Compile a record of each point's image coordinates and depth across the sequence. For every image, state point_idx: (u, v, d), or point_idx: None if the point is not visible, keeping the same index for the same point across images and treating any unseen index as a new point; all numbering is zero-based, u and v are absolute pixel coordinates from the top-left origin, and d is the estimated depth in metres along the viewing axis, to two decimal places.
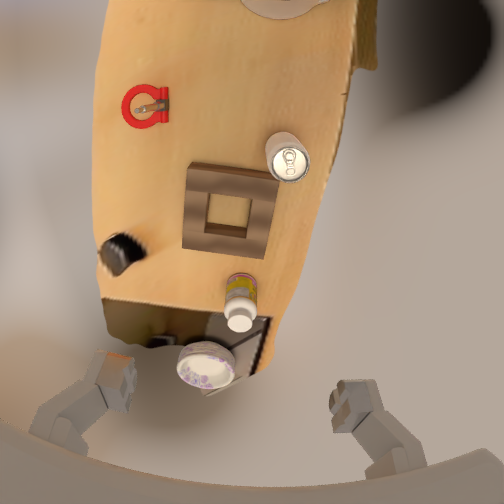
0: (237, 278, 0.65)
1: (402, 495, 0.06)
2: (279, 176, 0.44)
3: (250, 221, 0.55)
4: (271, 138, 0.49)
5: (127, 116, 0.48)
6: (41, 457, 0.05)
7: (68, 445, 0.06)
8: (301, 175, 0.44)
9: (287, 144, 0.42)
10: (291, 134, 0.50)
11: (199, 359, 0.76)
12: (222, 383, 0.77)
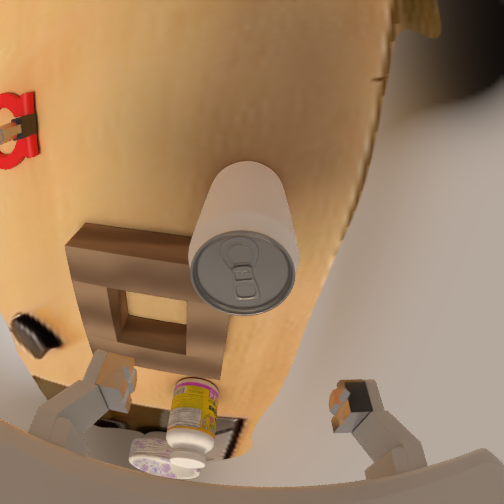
0: (187, 388, 0.39)
1: (402, 495, 0.06)
2: (217, 300, 0.17)
3: (188, 333, 0.29)
4: (216, 180, 0.23)
5: None
6: (41, 457, 0.05)
7: (68, 445, 0.06)
8: (274, 297, 0.17)
9: (234, 221, 0.15)
10: (262, 168, 0.23)
11: None
12: (187, 476, 0.51)
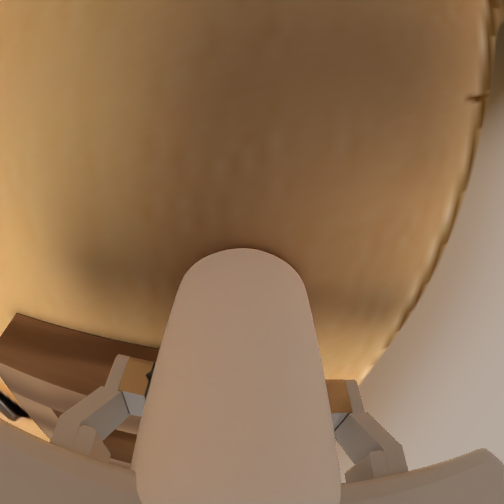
0: None
1: (402, 495, 0.06)
2: None
3: None
4: (181, 299, 0.12)
5: None
6: (41, 457, 0.05)
7: (93, 454, 0.07)
8: None
9: None
10: (271, 270, 0.12)
11: None
12: None
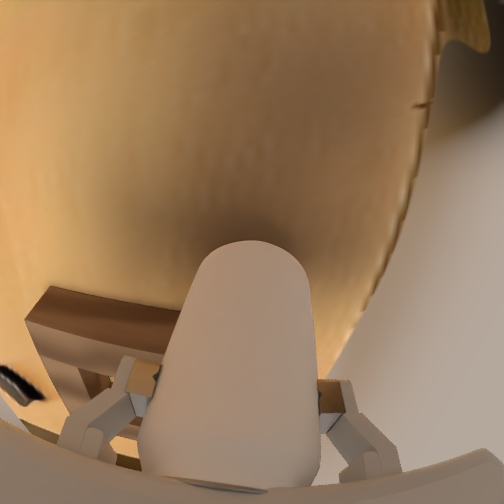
0: None
1: (402, 495, 0.06)
2: None
3: None
4: (200, 279, 0.14)
5: None
6: (41, 457, 0.05)
7: (100, 456, 0.07)
8: None
9: (207, 455, 0.06)
10: (280, 262, 0.14)
11: None
12: None
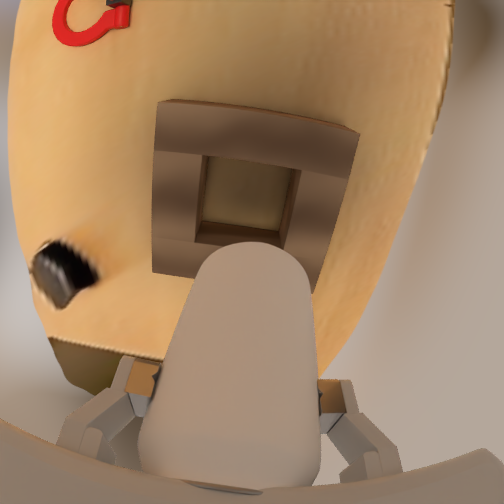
0: None
1: (402, 495, 0.06)
2: None
3: (293, 219, 0.26)
4: (201, 281, 0.14)
5: (59, 29, 0.19)
6: (41, 457, 0.05)
7: (99, 456, 0.07)
8: None
9: (207, 457, 0.06)
10: (280, 263, 0.14)
11: None
12: None
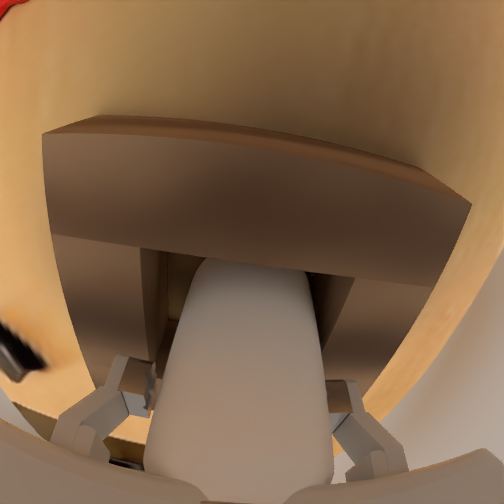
0: None
1: (402, 495, 0.06)
2: None
3: (326, 353, 0.13)
4: (200, 286, 0.13)
5: None
6: (41, 457, 0.05)
7: (92, 453, 0.07)
8: None
9: (223, 476, 0.06)
10: None
11: None
12: None
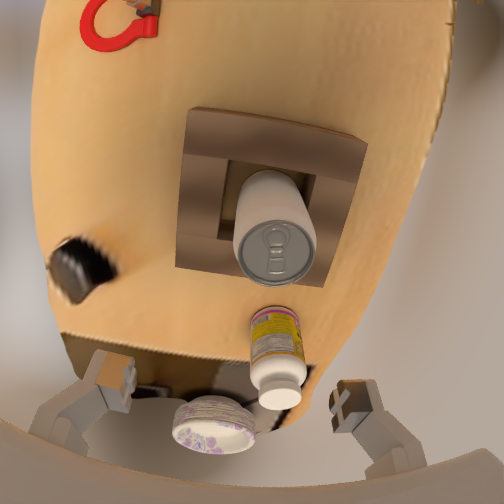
0: (271, 315, 0.38)
1: (402, 495, 0.06)
2: (254, 273, 0.23)
3: None
4: (249, 183, 0.28)
5: (87, 34, 0.22)
6: (41, 457, 0.05)
7: (68, 445, 0.06)
8: (296, 274, 0.23)
9: (274, 213, 0.21)
10: (285, 177, 0.29)
11: None
12: (237, 449, 0.49)
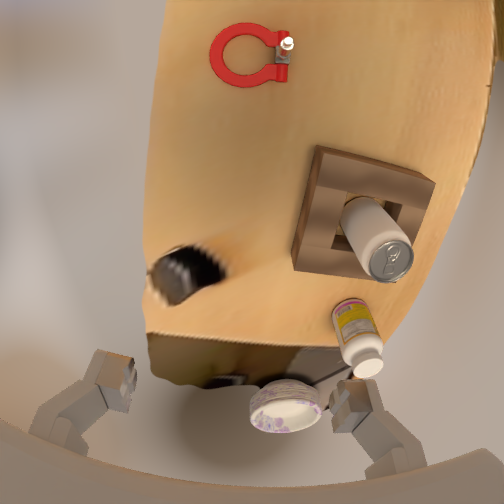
0: (352, 306, 0.47)
1: (402, 495, 0.06)
2: (374, 274, 0.32)
3: None
4: (355, 208, 0.37)
5: (219, 66, 0.30)
6: (41, 457, 0.05)
7: (68, 445, 0.06)
8: (399, 274, 0.32)
9: (393, 235, 0.30)
10: (377, 203, 0.38)
11: None
12: (302, 426, 0.59)
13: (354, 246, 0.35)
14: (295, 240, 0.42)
